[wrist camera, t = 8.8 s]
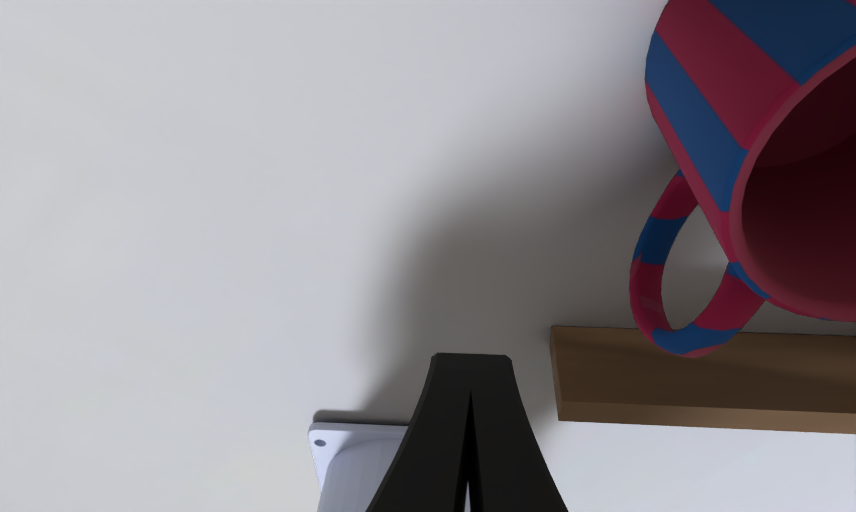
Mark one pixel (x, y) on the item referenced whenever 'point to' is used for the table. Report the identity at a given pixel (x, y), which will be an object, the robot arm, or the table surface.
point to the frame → (706, 381)
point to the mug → (754, 160)
